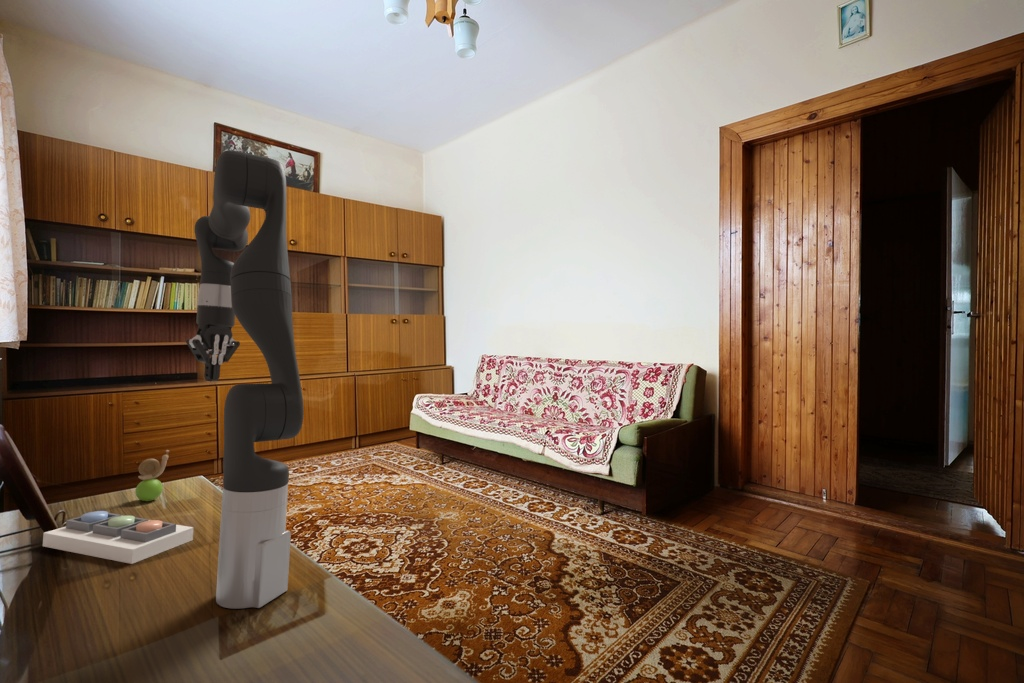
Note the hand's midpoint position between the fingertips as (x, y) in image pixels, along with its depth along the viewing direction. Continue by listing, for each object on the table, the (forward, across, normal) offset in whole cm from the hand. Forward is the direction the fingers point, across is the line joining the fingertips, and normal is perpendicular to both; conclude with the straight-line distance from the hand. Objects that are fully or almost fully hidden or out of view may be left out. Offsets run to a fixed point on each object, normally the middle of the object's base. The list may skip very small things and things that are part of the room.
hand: (211, 380), depth 111 cm
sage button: (+28, -17, +2) cm, 33 cm away
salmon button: (+28, -17, -5) cm, 33 cm away
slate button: (+28, -17, +9) cm, 34 cm away
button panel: (+31, -17, +2) cm, 35 cm away
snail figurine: (+32, +5, +21) cm, 38 cm away
